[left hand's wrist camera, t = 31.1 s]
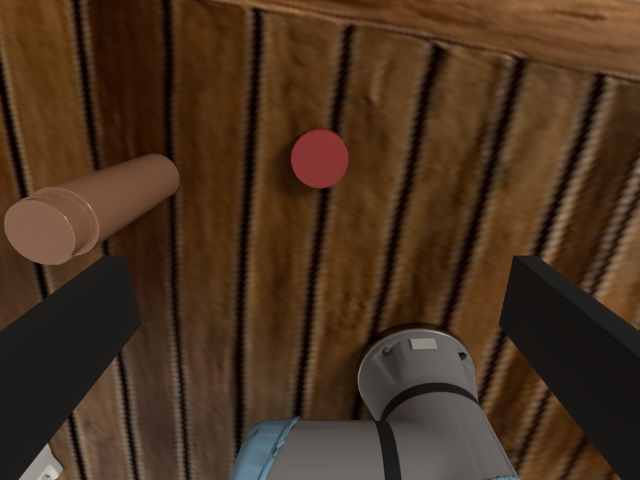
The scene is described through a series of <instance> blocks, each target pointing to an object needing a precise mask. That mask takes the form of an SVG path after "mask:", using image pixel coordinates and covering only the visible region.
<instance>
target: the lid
mask: <svg viewBox="0 0 640 480" xmlns="http://www.w3.org/2000/svg"><path fill="white" fill-rule="evenodd" d="M346 148H347V147H346V145H345V144H344V142H343V140H342V138H340V137H339V136H338V135H337V133H334V132H333V131H331V130H330V129H329V130H328V129H323V128H315V129H312V130H307V132H305V133H304V134H303V135H302V134H301V136H300V137H299V139H298V140H296V143H295V145H294V146H293V148H292V149H293V150H292V154H291V164H292V168H293V171H294V173H295V175H296V176H297V177H298V179H299V180H300V181H302V182H303V183H304V184H306V185H308V186H310V187H314V188H325V187H329V186H332V185H334V184H335V183H337V182H338V181H339V180H340V179H341V178H342V177H343V175H344V174H345V172H346V170H347V167H348V163H349V161H348V155H349V154H348V152H347V149H346Z"/></svg>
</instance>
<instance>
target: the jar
mask: <svg viewBox="0 0 640 480" xmlns="http://www.w3.org/2000/svg"><path fill="white" fill-rule="evenodd" d="M179 183H180V177H179V173H178V170H177V168H176V166H175V165H174V164H173V163H172V162H171V161H170V160H169V159H168V158H166V157H164V156H162V155H159V154H154V153H151V154H146V155H143V156H140V157H137V158H134V159H131V160H128V161H124V162H121V163H118V164H115V165H112V166H109V167H106V168H103V169H100V170H97V171H94V172H91V173H88V174H85V175H82V176H79V177H76V178H73V179H70V180H67V181H64V182H60V183H57V184H54V185H51V186H48V187H45V188H42V189H40V190H38V191H36V192H35V193H33V194H32V195H31V196H29V197H27V198H24V199H22V200H20V201H19V202H18V203H16V204H14V205H13V206H12V207H11V208H10V209H9V210H8V211H7V213H6V215H5V219H4V229H5V233H6V236H7V238H8V240H9V242H10V243H11V245H12V246H13V247H14V248H15V249H16V250H17V251H18V252H19V253H20V254H21V255H23V256H24V257H26V258H27V259H29V260H31V261H34V262H37V263H40V264H49V265H59V264H62V263H65V262H67V261H68V260H70V259H71V258H72V257H73V256H75V255H81V254H84V253H86V252H88V251H89V250H91V249H92V248H94V247H95V246H97V245H98V244H100V243H101V242H103V241H105V240H106V239H108V238H109V237H111V236H112V235H114V234H115V233H117V232H118V231H120V230H121V229H123V228H124V227H126V226H127V225H129V224H130V223H132V222H133V221H135V220H136V219H138V218H139V217H141V216H142V215H144V214H145V213H147V212H148V211H150V210H151V209H153V208H154V207H156V206H157V205H159V204H160V203H162V202H163V201H165V200H166V199H168V198H169V197H171V196H172V195H173V194H174V193H175V192H176V191H177V189H178V187H179Z"/></svg>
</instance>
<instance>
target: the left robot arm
mask: <svg viewBox="0 0 640 480" xmlns="http://www.w3.org/2000/svg"><path fill="white" fill-rule="evenodd" d="M140 325H141V321H140V317H139V312H138V308H137V303H136V298H135V294H134V289H133V284H132V280H131V275H130V270H129V266H128V261H127V256H103V257H101V258H100V259H99V260H97V261H96V262H95V263H93V264H92V265H90V266H89V267H88V268H86V269H85V270H84V271H82V272H81V273H79V274H78V275H77V276H75V277H74V278H73V279H71V280H70V281H69V282H67V283H66V284H64V285H63V286H62V287H60V288H59V289H58V290H56V291H55V292H54V293H52V294H51V295H49V296H48V297H47V298H45V299H44V300H43V301H41V302H40V303H39V304H37V305H36V306H34V307H33V308H32V309H30V310H29V311H28V312H26V313H25V314H24V315H22V316H21V317H19V318H18V319H17V320H15V321H14V322H13V323H11V324H10V325H8V326H7V327H6V328H4V329H3V330H2V331H0V480H19V479H20V478H21V476H22V475H23V474H24V472H25V471H26V470H27V469H28V467H29V466H30V465H31V464H32V462H33V461H34V460H35V459H36V457H37V456H38V455H39V453H40V452H41V451H42V450H43V448H44V447H45V446H46V445H47V443H48V442H49V441H50V439H51V438H52V437H53V436H54V434H55V433H56V432H57V431H58V429H59V428H60V427H61V426H62V424H63V423H64V422H65V420H66V419H67V418H68V417H69V415H70V414H71V413H72V412H73V410H74V409H75V408H76V406H77V405H78V404H79V403H80V401H81V400H82V399H83V398H84V396H85V395H86V394H87V393H88V391H89V390H90V389H91V387H92V386H93V385H94V384H95V382H96V381H97V380H98V379H99V377H100V376H101V375H102V373H103V372H104V371H105V370H106V368H107V367H108V366H109V365H110V363H111V362H112V361H113V359H114V358H115V357H116V356H117V354H118V353H119V352H120V351H121V349H122V348H123V347H124V346H125V344H126V343H127V342H128V340H129V339H130V338H131V337H132V335H133V334H134V333H135V332H136V330H137V329H138V328H139V326H140ZM499 325H500V326H501V328H502V329H503V330H504V332H505V333H506V334H507V335H508V337H509V338H510V339H511V340H512V342H513V343H514V344H515V346H516V347H517V348H518V349H519V351H520V352H521V353H522V354H523V356H524V357H525V358H526V359H527V361H528V362H529V363H530V365H531V366H532V367H533V368H534V370H535V371H536V372H537V373H538V375H539V376H540V377H541V379H542V380H543V381H544V382H545V384H546V385H547V386H548V387H549V389H550V390H551V391H552V393H553V394H554V395H555V396H556V398H557V399H558V400H559V401H560V403H561V404H562V405H563V406H564V408H565V409H566V410H567V412H568V413H569V414H570V415H571V417H572V418H573V419H574V420H575V422H576V423H577V424H578V426H579V427H580V428H581V429H582V431H583V432H584V433H585V434H586V436H587V437H588V438H589V439H590V441H591V442H592V443H593V445H594V446H595V447H596V448H597V450H598V451H599V452H600V453H601V455H602V456H603V457H604V459H605V460H606V461H607V462H608V464H609V465H610V466H611V467H612V469H613V470H614V471H615V472H616V474H617V475H618V476H619V478H620V479H621V480H640V331H638V330H637V329H636V328H634V327H633V326H632V325H630V324H629V323H627V322H626V321H625V320H623V319H622V318H621V317H619V316H618V315H616V314H615V313H614V312H612V311H611V310H610V309H608V308H607V307H606V306H604V305H603V304H601V303H600V302H599V301H597V300H596V299H595V298H593V297H592V296H591V295H589V294H588V293H586V292H585V291H584V290H582V289H581V288H580V287H578V286H577V285H576V284H574V283H573V282H571V281H570V280H569V279H567V278H566V277H565V276H563V275H562V274H561V273H559V272H558V271H556V270H555V269H554V268H552V267H551V266H550V265H548V264H547V263H545V262H544V261H543V260H541V259H540V258H539V257H537V256H513V261H512V266H511V270H510V275H509V280H508V284H507V289H506V294H505V298H504V303H503V308H502V312H501V317H500V321H499ZM357 379H358V386H359V391H360V394H361V396H362V398H363V400H364V402H365V403H366V405H367V407H368V408H369V410H370V412H371V413H372V415H373V417H374V418H375V420H376V421H373V420H322V419H301V418H300V417H294V418H293V419H275V420H264V421H261V422H259V423H257V424H256V425H255V426H254V427H253V428H252V429H251V430H250V431H249V433H248V434H247V436H246V438H245V440H244V442H243V444H242V446H241V448H240V451H239V454H238V456H237V459H236V462H235V465H234V468H233V472H232V475H231V479H230V480H520V479H519V478H518V476H517V474H516V472H515V470H514V468H513V466H512V464H511V463H510V461H509V459H508V457H507V455H506V453H505V451H504V449H503V448H502V446H501V444H500V442H499V440H498V438H497V436H496V434H495V433H494V431H493V429H492V427H491V425H490V423H489V421H488V419H487V418H486V416H485V414H484V412H483V410H482V408H481V406H480V404H479V402H478V396H477V386H476V377H475V368H474V363H473V360H472V357H471V355H470V354H469V352H468V350H467V348H466V347H465V345H464V343H463V342H462V341H461V340H460V339H459V338H458V337H457V336H456V335H455V334H454V333H452V332H451V331H449V330H447V329H445V328H443V327H441V326H437V325H434V324H429V323H409V324H403V325H399V326H396V327H393V328H391V329H388V330H386V331H384V332H383V333H381V334H379V335H378V336H377V337H375V338H374V339H373V340H372V341H371V342H370V343H369V344H368V345H367V346H366V348H365V349H364V350H363V352H362V354H361V356H360V358H359V361H358V365H357Z"/></svg>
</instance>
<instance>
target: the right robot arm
mask: <svg viewBox="0 0 640 480" xmlns="http://www.w3.org/2000/svg"><path fill="white" fill-rule="evenodd" d="M62 471H63V468H62V466H61V465H60V463H59V462H58V461H57V460H56V459H55V458H54V457H53V455H52V453H51V449H50V446H49V444H48V443H47V445H46V446H45V447H44V448H43V450H42V451H41V452H40V453H39V455H38V456H37V457H36V459H35V460H34V461H33V462H32V464H31V465H30V466H29V467H28V469H27V470H26V471H25V472H24V474H23V475H22V476H21V478H20V479H19V480H55V479H56V478H57V477H58V476H59V475H60V474H61V473H62Z"/></svg>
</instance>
